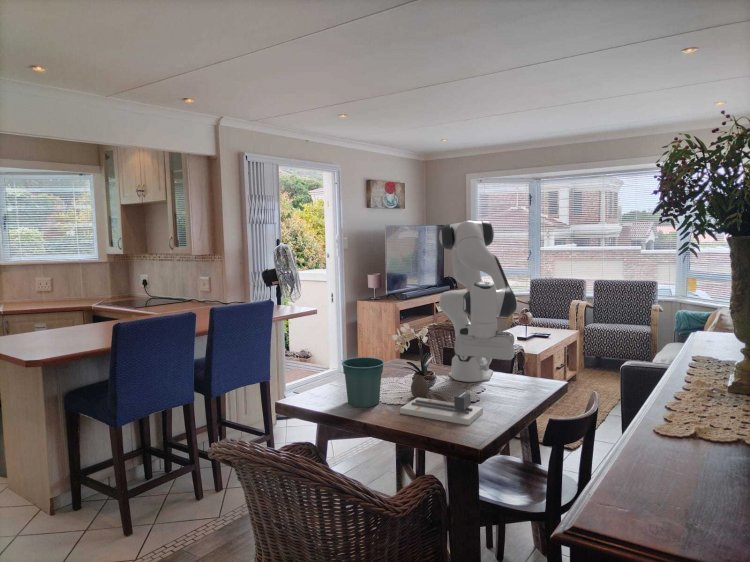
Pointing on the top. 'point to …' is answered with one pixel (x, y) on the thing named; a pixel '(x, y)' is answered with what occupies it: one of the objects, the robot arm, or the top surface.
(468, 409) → the white slider track base
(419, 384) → the vase
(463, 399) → the fader tab
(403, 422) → the top surface
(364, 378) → the flower pot
